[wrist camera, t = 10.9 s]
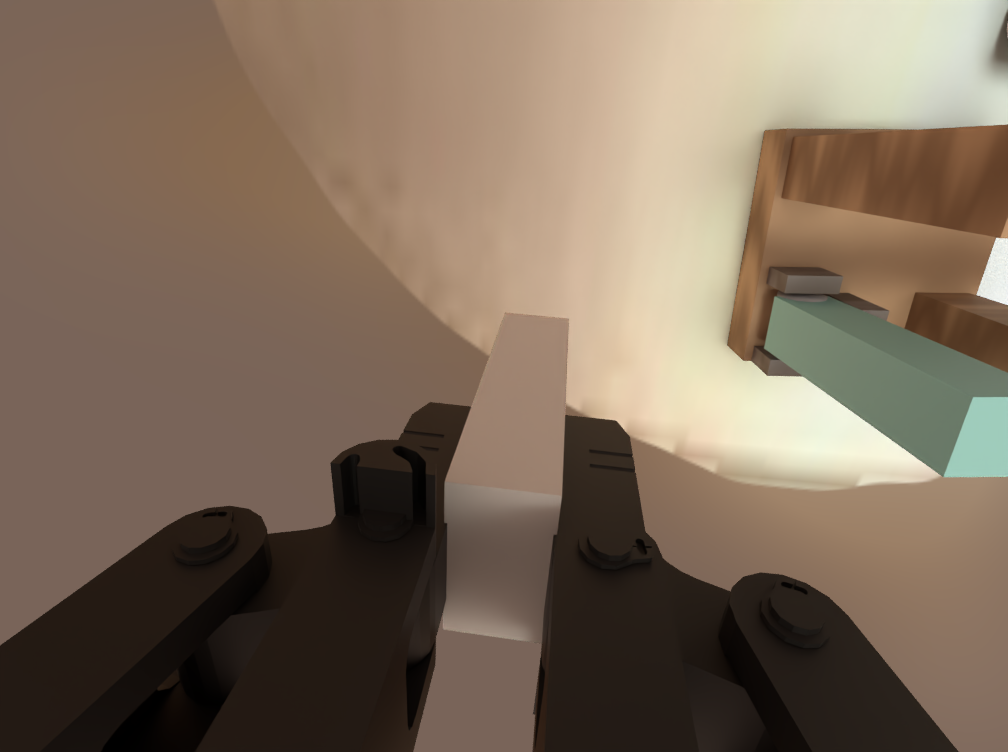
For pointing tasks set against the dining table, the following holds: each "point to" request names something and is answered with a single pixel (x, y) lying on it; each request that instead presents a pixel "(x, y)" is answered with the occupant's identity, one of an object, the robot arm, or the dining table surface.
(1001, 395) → the hinged leg
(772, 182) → the upturned wooden stool
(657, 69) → the dining table surface
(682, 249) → the dining table surface
